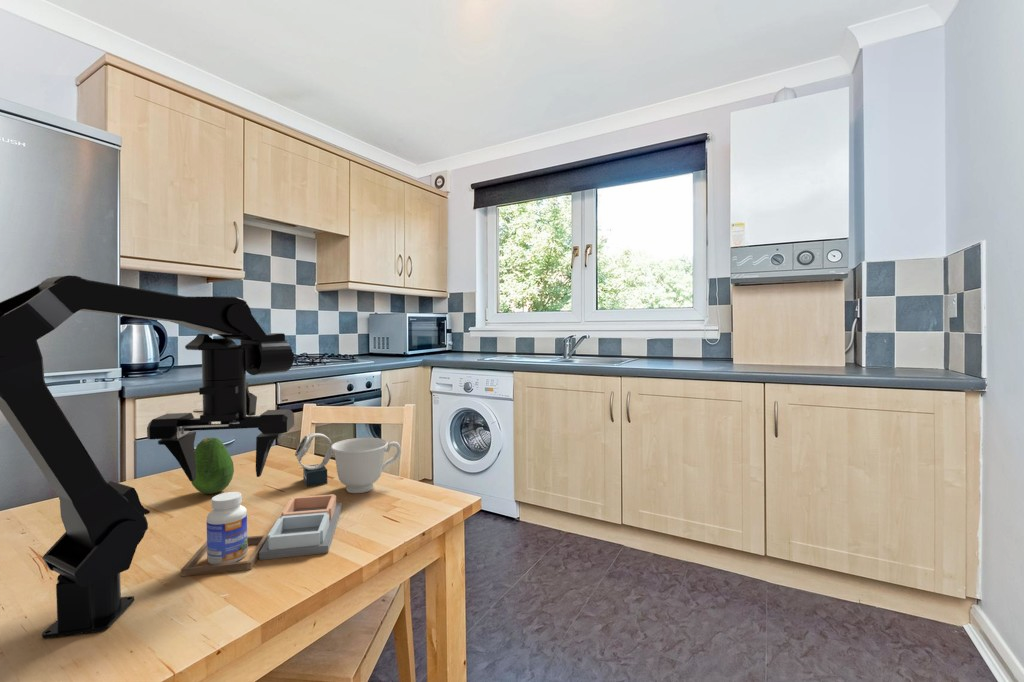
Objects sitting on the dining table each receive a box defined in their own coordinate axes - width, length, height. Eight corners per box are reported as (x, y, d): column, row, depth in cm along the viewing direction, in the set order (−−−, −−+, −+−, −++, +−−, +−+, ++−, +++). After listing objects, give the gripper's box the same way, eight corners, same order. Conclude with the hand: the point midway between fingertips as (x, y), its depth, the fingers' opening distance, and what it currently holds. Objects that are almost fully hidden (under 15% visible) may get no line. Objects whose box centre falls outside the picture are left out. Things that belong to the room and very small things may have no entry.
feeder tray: (251, 568, 69) (251, 562, 69) (181, 576, 67) (180, 569, 67) (268, 540, 78) (268, 534, 78) (206, 546, 76) (206, 540, 76)
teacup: (405, 492, 101) (404, 447, 100) (331, 502, 95) (330, 454, 95) (397, 475, 112) (397, 434, 111) (330, 483, 106) (330, 440, 106)
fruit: (196, 489, 102) (194, 435, 102) (237, 485, 105) (236, 432, 104) (185, 502, 95) (183, 444, 94) (229, 497, 98) (228, 440, 97)
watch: (294, 481, 108) (293, 434, 107) (330, 475, 112) (330, 429, 111) (297, 488, 103) (296, 439, 102) (335, 482, 107) (335, 434, 107)
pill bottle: (229, 568, 70) (227, 504, 69) (198, 564, 71) (197, 501, 70) (255, 550, 75) (254, 491, 74) (227, 547, 76) (225, 488, 76)
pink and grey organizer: (328, 552, 74) (327, 533, 74) (259, 559, 72) (259, 539, 72) (341, 508, 92) (341, 492, 92) (286, 513, 89) (286, 497, 89)
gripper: (300, 371, 82) (301, 459, 82) (179, 374, 77) (181, 466, 78) (285, 379, 71) (286, 480, 71) (143, 382, 66) (146, 490, 67)
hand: (226, 478), depth 72 cm, fingers open, 9 cm apart
